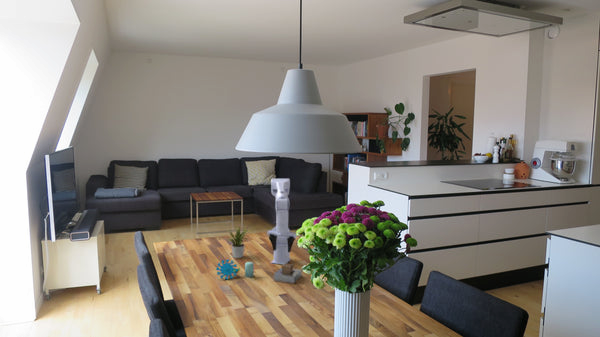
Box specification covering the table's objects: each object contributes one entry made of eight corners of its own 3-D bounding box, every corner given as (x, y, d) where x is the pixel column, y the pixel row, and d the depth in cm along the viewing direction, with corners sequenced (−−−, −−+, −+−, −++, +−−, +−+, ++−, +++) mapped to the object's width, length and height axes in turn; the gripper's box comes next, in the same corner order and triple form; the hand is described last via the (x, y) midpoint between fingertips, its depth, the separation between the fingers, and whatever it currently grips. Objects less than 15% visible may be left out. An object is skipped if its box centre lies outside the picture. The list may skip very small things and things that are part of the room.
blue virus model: (215, 277, 198) (217, 257, 205) (214, 283, 203) (216, 263, 209) (239, 279, 201) (240, 259, 207) (237, 284, 205) (239, 265, 211)
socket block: (282, 273, 210) (282, 267, 210) (301, 275, 207) (301, 269, 206) (273, 280, 201) (273, 273, 200) (294, 283, 197) (294, 276, 197)
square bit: (285, 276, 206) (285, 263, 205) (293, 277, 204) (293, 264, 204) (281, 279, 202) (282, 265, 201) (289, 280, 201) (290, 267, 200)
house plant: (257, 258, 231) (257, 228, 229) (234, 263, 223) (234, 231, 222) (245, 251, 243) (245, 222, 241) (222, 255, 235) (222, 225, 233)
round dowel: (247, 273, 209) (247, 261, 208) (255, 274, 207) (255, 262, 206) (243, 276, 205) (243, 264, 204) (251, 277, 203) (251, 265, 203)
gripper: (264, 223, 208) (264, 251, 209) (293, 226, 203) (293, 254, 204) (270, 220, 215) (270, 247, 216) (298, 223, 210) (298, 250, 211)
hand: (281, 251), depth 211 cm, fingers open, 7 cm apart
